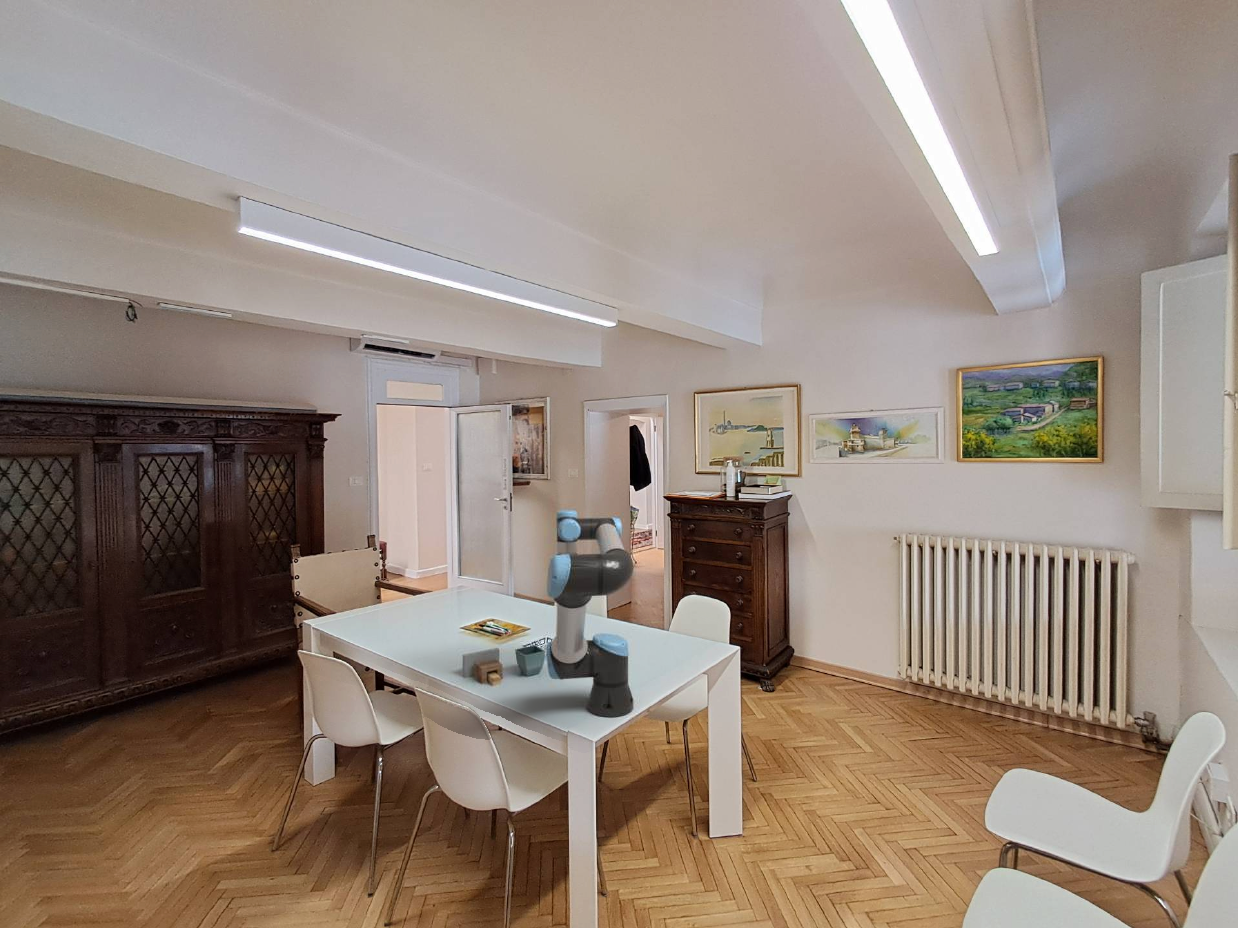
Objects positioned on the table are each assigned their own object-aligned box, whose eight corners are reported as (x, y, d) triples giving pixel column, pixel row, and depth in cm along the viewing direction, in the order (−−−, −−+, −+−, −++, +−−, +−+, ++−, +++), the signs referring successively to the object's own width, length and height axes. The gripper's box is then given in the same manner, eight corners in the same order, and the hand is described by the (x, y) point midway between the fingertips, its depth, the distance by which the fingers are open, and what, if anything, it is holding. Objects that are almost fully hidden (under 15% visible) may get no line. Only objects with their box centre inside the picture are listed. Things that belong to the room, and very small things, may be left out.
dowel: (500, 684, 208) (500, 676, 208) (492, 686, 206) (492, 678, 206) (489, 676, 216) (489, 668, 216) (482, 678, 214) (482, 670, 214)
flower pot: (524, 679, 212) (524, 655, 212) (514, 672, 219) (514, 649, 219) (545, 674, 217) (545, 650, 217) (534, 667, 224) (534, 644, 224)
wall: (499, 669, 222) (499, 649, 222) (464, 677, 214) (464, 656, 214) (497, 668, 224) (497, 647, 224) (462, 675, 216) (462, 654, 216)
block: (502, 678, 213) (502, 664, 213) (482, 683, 208) (481, 668, 208) (493, 672, 219) (493, 658, 219) (473, 677, 214) (473, 662, 214)
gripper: (585, 554, 204) (585, 619, 204) (567, 549, 214) (567, 612, 215) (567, 556, 200) (567, 623, 200) (549, 551, 210) (549, 615, 210)
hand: (567, 617), depth 207 cm, fingers closed
